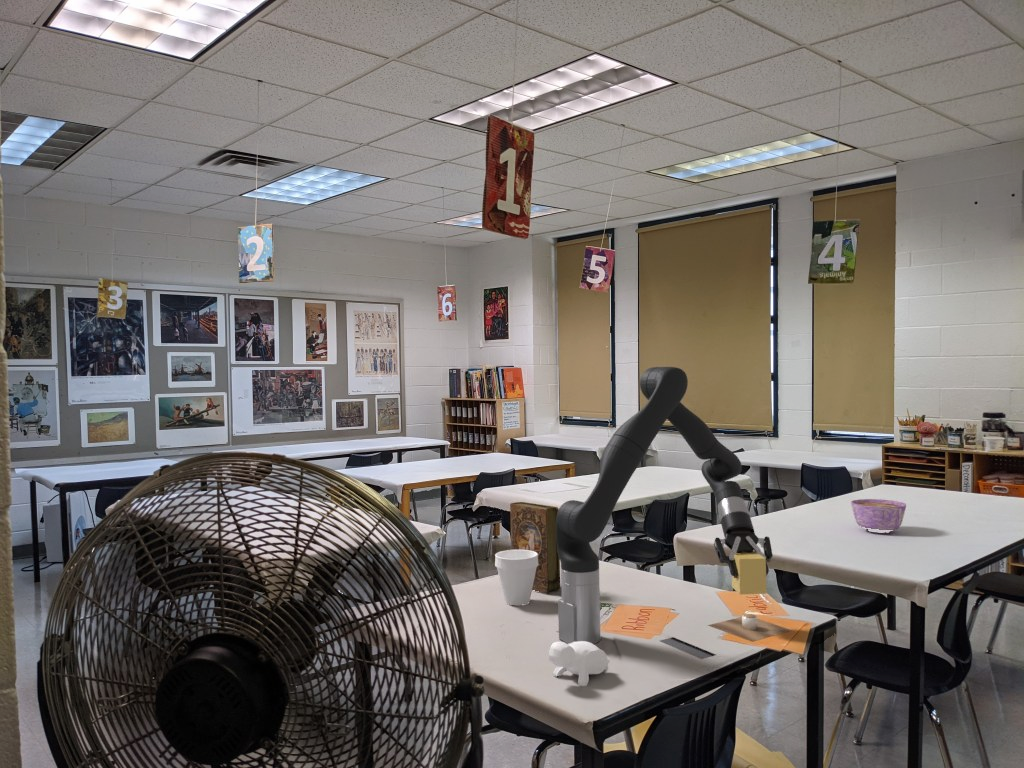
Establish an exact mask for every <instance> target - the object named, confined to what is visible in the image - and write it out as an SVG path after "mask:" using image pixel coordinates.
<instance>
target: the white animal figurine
mask: <svg viewBox="0 0 1024 768" xmlns="http://www.w3.org/2000/svg"><path fill="white" fill-rule="evenodd" d="M548 660H549V662H550V663H552V664H553V665H555V666H556V667H555V669H554V670H553V672H552V675H553V677H556V678H558V677H557V676H559V677H561V676H562V675H563V674H564V673H565V672H566V671H568V672H570V673H571V674H574V675H577V676H578V680H577V684H578V685H579V686H580V687H587V686H588V683H589V681H590V679H589V678H590V677H589V675H598V674H601V673H603V674H607V673H608V670H609V666H608V665H609V663H610V660H609V659H608V657H607V654H606V652H605V651H604V650H603V649H600V648H599V647H598V646H597V645H595V643H594V644H592V643H590V642H587V641H578V642H573V643H569V644H568V643H566V642H564V641H554V642H553V643H552V644H551V646H550V648H549V651H548Z"/></svg>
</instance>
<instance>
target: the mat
mask: <svg viewBox="0 0 1024 768" xmlns="http://www.w3.org/2000/svg"><path fill="white" fill-rule="evenodd" d="M659 642H661V643H663V644H665V645H668V646H670V647H672V648H675V649H677V650H680V651H682V652H684V653H686V654H689V655H691V656H694V657H695V658H698V659H701V660H703V659H707V658H710V657H714V656H717V654H716V653H713V652H711V651H708V650H706V649H703V648H700V647H698V646H696V645H693V644H691V643H689V642H685V641H684V640H681V639H679V638H676V637H674V636H672V637H669V638H668V637H667V638H665V639H661V640H659Z"/></svg>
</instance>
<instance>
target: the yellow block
mask: <svg viewBox="0 0 1024 768" xmlns="http://www.w3.org/2000/svg"><path fill="white" fill-rule="evenodd" d="M734 561H735V562H736V566H737V570H738V577H737V578H734V576H732V575H731V588H732V589H734V590H735V591H736V593H738V594H739V595H767V576H766V558H764V557H763V556H761V555H760V554H756V553H736V555H734Z"/></svg>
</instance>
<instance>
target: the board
mask: <svg viewBox="0 0 1024 768" xmlns="http://www.w3.org/2000/svg"><path fill="white" fill-rule="evenodd" d="M707 626H709V627H711V628H714V629H717V630H719V631H722V632H725V633H728V634H730V635H733V636H735V637H739V638H740V639H744V640H747V641H750V642H756V641H759V640H763V639H766V638H770V637H774V636H777V635H781V634H784V633H789V632H792V631H793V630H792V629H790V628H787V627H783V626H780V625H777V624H774V623H772V622H769V621H766V620H762V619H759V618H757V629H756V630H746V629H743V628H742V616H740V617H736V618H731V619H728V620H724V621H719V622H716V623H711V624H708V625H707Z"/></svg>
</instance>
